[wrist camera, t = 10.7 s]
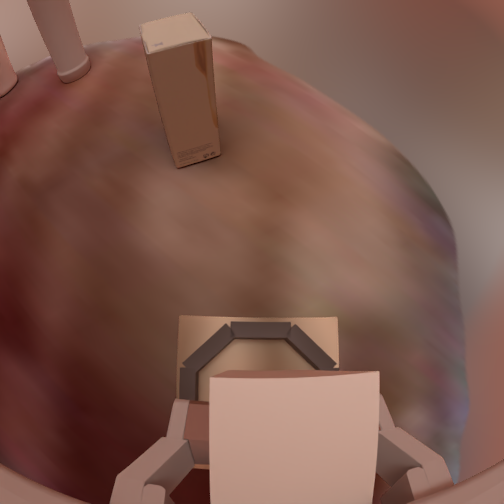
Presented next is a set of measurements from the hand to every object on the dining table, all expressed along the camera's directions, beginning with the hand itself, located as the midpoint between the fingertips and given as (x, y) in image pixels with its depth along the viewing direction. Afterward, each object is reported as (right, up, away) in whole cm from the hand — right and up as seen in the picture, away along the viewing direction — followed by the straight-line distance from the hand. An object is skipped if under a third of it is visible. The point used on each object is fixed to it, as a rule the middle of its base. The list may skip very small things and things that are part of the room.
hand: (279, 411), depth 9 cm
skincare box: (-7, +16, +18) cm, 25 cm away
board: (0, -5, +10) cm, 11 cm away
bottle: (-27, +31, +23) cm, 47 cm away
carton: (0, -3, +5) cm, 5 cm away
